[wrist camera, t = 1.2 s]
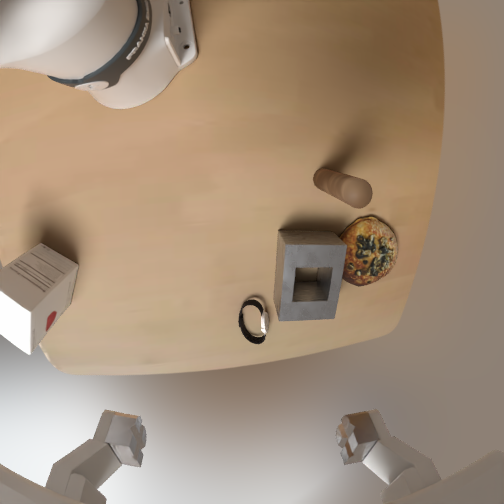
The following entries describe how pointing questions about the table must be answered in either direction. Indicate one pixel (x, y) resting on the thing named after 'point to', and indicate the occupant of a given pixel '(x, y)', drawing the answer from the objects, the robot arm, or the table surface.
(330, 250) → the socket block
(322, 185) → the peg
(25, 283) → the supplement box
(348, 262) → the bread roll
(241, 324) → the watch
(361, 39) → the table surface
